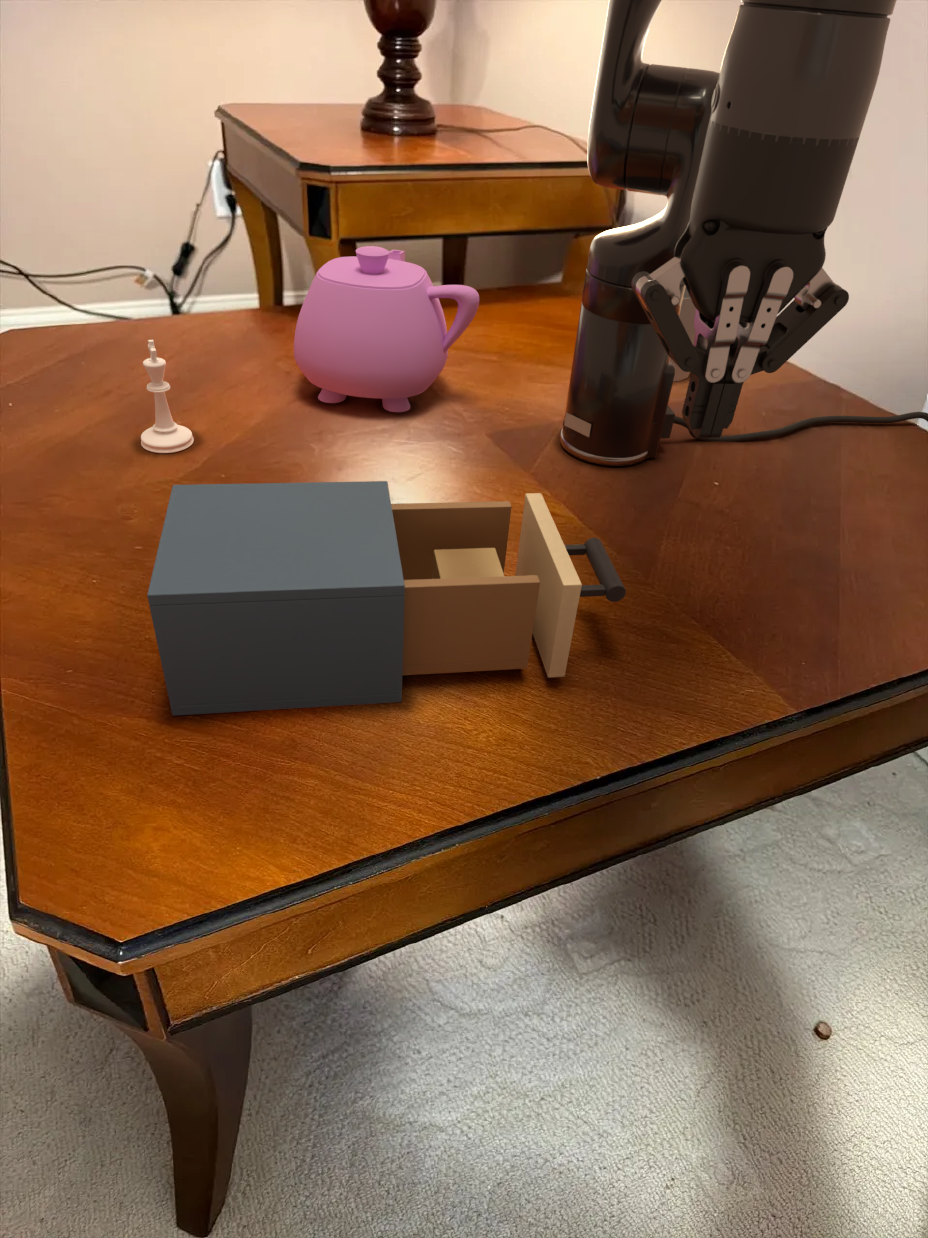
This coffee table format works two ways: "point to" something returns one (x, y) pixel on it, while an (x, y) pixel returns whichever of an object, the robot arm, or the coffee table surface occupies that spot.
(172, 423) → the chess piece
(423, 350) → the teapot
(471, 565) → the block
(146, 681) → the coffee table surface
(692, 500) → the coffee table surface
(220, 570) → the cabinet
